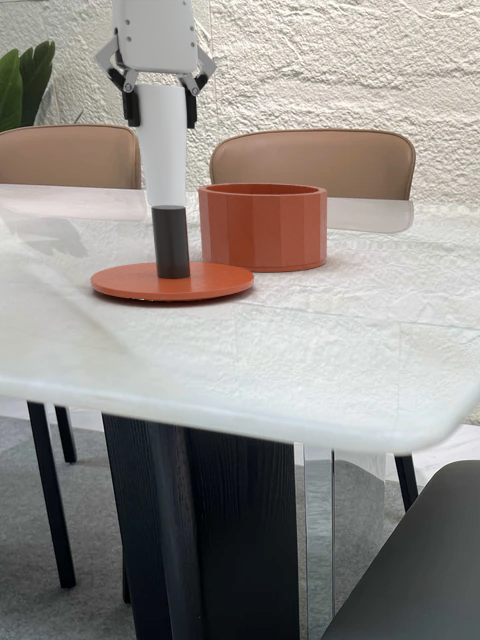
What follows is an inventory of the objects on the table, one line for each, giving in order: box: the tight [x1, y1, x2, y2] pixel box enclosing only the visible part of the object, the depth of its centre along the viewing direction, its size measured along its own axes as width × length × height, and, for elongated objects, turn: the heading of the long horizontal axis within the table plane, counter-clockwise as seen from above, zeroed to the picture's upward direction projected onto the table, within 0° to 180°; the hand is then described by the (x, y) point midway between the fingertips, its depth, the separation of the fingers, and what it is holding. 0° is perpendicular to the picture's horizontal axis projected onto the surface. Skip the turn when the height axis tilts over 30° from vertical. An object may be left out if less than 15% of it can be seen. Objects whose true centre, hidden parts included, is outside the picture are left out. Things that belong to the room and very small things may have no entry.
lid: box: [90, 205, 255, 303], centre depth 70 cm, size 15×15×7 cm
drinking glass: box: [134, 83, 188, 207], centre depth 104 cm, size 7×7×15 cm
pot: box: [197, 182, 328, 273], centre depth 84 cm, size 14×14×8 cm
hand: (161, 126), depth 103 cm, fingers closed on drinking glass, 6 cm apart
